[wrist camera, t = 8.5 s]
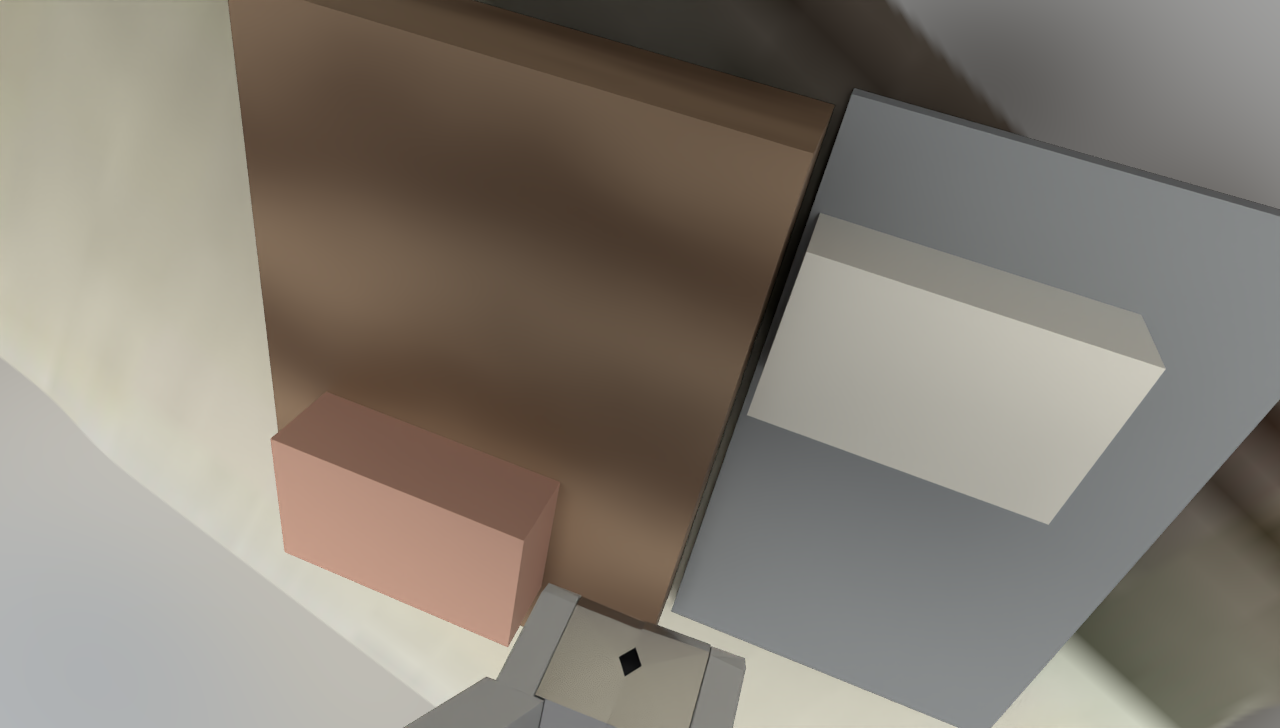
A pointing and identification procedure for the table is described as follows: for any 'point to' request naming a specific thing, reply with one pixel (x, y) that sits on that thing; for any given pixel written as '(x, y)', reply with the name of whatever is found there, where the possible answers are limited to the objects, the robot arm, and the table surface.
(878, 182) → the mat
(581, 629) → the robot arm
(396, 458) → the clay tile
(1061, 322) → the cream tile
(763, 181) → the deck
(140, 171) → the table surface
